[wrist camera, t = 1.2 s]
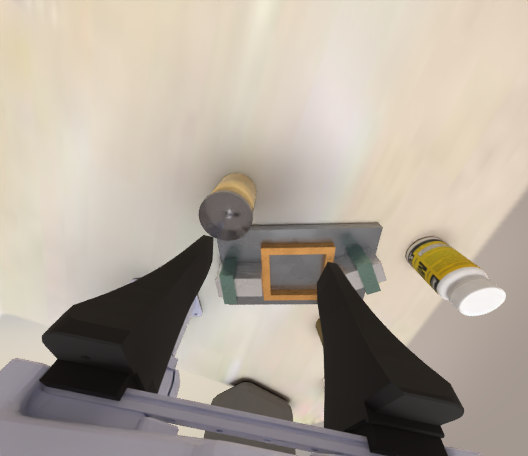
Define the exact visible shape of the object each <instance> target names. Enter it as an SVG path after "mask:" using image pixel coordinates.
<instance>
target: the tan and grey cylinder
mask: <svg viewBox="0 0 528 456" xmlns="http://www.w3.org/2000/svg"><path fill="white" fill-rule="evenodd" d="M255 198H256V188H255V185H254V183H253V181H252V180H251V179H250V178H249V177H247V176H246V175H244V174H241V173H231V174H228V175H227V176H225V177H224V178H223V179H222V180H221V181H220V183H219V184H218V185H217V187H216V188H215V189H214V190H213V192H212V193H211V194H210V195H209V196H207V198H206V199H205V200H204V201H203V203H202V204H201V206H200V209H199V219H200V223H201V225H202V227H203V228H204V229H205V231H206V232H207V233H209V234H210V235H211V236H213V237H215V238H217V239H220V240H224V241H233V240H237V239H239V238H241V237H243V236H244V235H245V234H246V233H247V232H248V231H249V230H250V227H251V225H252V219H253V208H254V203H255Z"/></svg>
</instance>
